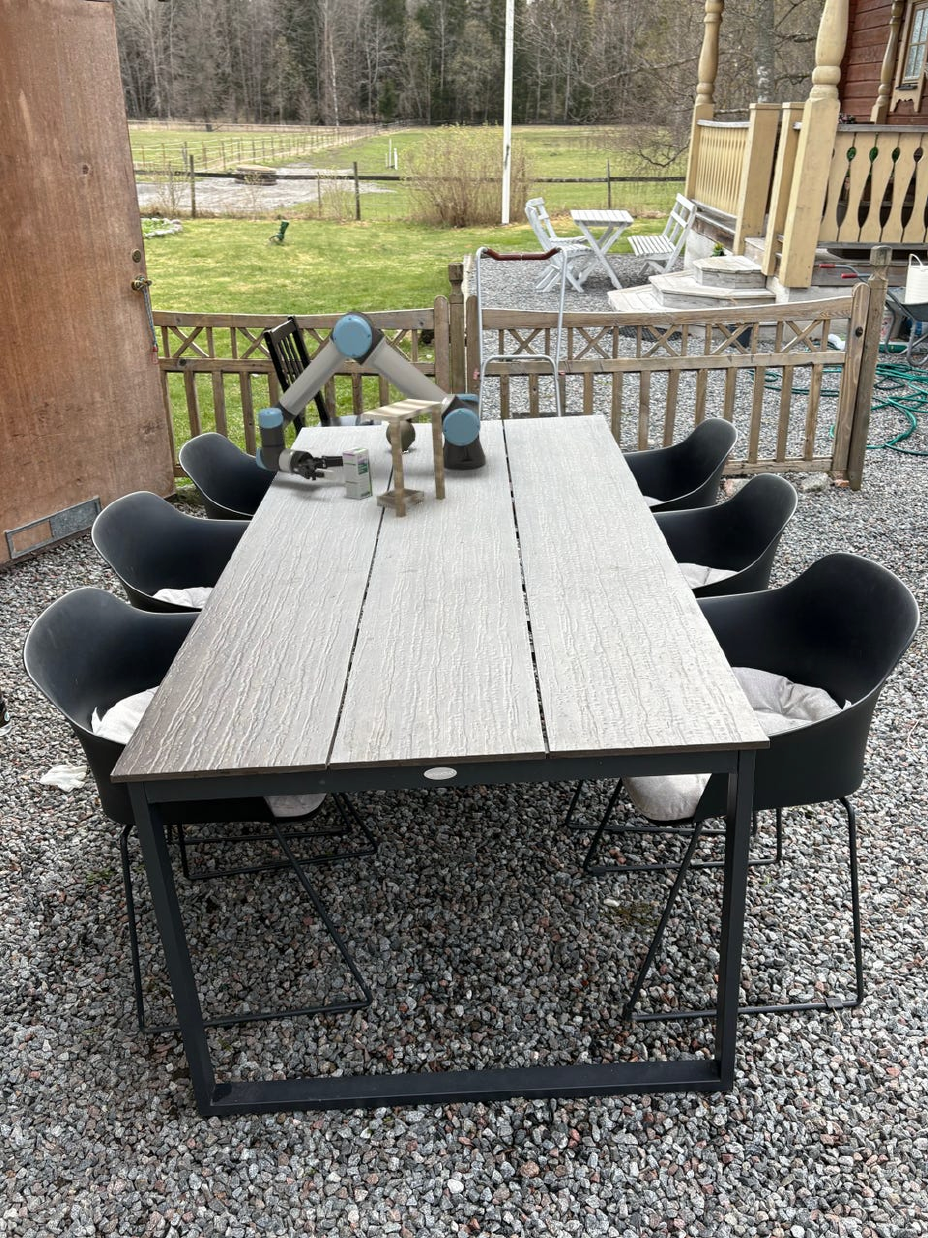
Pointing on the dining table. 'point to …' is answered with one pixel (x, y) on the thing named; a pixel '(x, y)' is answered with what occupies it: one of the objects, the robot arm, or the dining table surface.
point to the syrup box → (357, 473)
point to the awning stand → (394, 414)
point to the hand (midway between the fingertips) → (348, 470)
